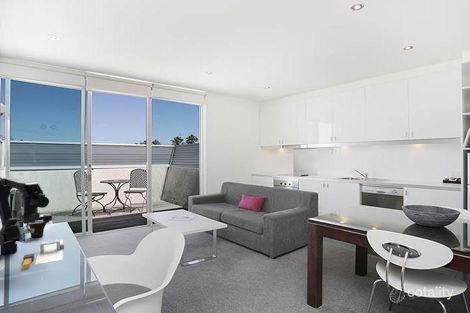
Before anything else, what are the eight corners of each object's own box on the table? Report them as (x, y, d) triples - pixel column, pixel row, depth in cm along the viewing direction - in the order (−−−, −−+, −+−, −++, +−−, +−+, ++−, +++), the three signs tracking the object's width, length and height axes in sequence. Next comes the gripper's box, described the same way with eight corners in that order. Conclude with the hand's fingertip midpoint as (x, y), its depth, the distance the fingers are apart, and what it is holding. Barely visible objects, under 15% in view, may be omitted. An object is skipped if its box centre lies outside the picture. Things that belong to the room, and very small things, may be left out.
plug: (20, 271, 125) (20, 263, 125) (25, 260, 138) (25, 254, 138) (31, 269, 127) (30, 262, 127) (34, 258, 140) (34, 252, 140)
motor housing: (40, 253, 146) (40, 244, 146) (41, 250, 150) (40, 242, 150) (63, 249, 152) (63, 241, 152) (64, 246, 156) (63, 238, 156)
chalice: (20, 234, 183) (19, 208, 183) (22, 231, 189) (22, 206, 189) (33, 232, 187) (32, 207, 186) (35, 230, 193) (34, 205, 192)
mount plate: (34, 265, 131) (34, 264, 131) (41, 243, 163) (41, 242, 163) (62, 260, 137) (62, 259, 137) (63, 240, 169) (63, 239, 169)
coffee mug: (47, 236, 178) (47, 221, 178) (32, 239, 171) (32, 224, 171) (39, 233, 184) (39, 219, 184) (24, 236, 177) (24, 222, 177)
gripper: (4, 211, 128) (5, 243, 128) (51, 207, 138) (51, 236, 139) (8, 207, 138) (9, 237, 138) (52, 203, 148) (52, 231, 148)
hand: (31, 235), depth 140 cm, fingers open, 9 cm apart
